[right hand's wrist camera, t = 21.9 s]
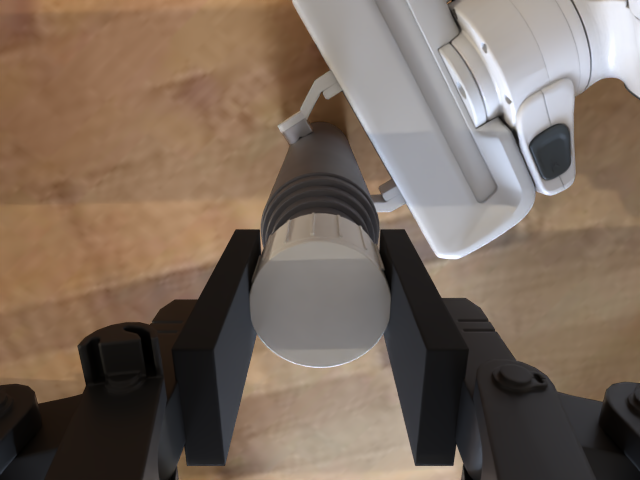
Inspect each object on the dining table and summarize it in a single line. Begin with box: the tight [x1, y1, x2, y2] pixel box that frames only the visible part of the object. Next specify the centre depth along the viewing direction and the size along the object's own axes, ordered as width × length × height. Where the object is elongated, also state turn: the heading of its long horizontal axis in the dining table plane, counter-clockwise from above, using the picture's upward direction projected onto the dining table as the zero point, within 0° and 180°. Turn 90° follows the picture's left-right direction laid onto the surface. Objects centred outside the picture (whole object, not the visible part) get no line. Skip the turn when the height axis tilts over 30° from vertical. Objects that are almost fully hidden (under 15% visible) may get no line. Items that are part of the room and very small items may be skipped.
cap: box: [249, 213, 391, 368], centre depth 13 cm, size 4×4×2 cm
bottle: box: [261, 122, 379, 247], centre depth 24 cm, size 5×5×25 cm
